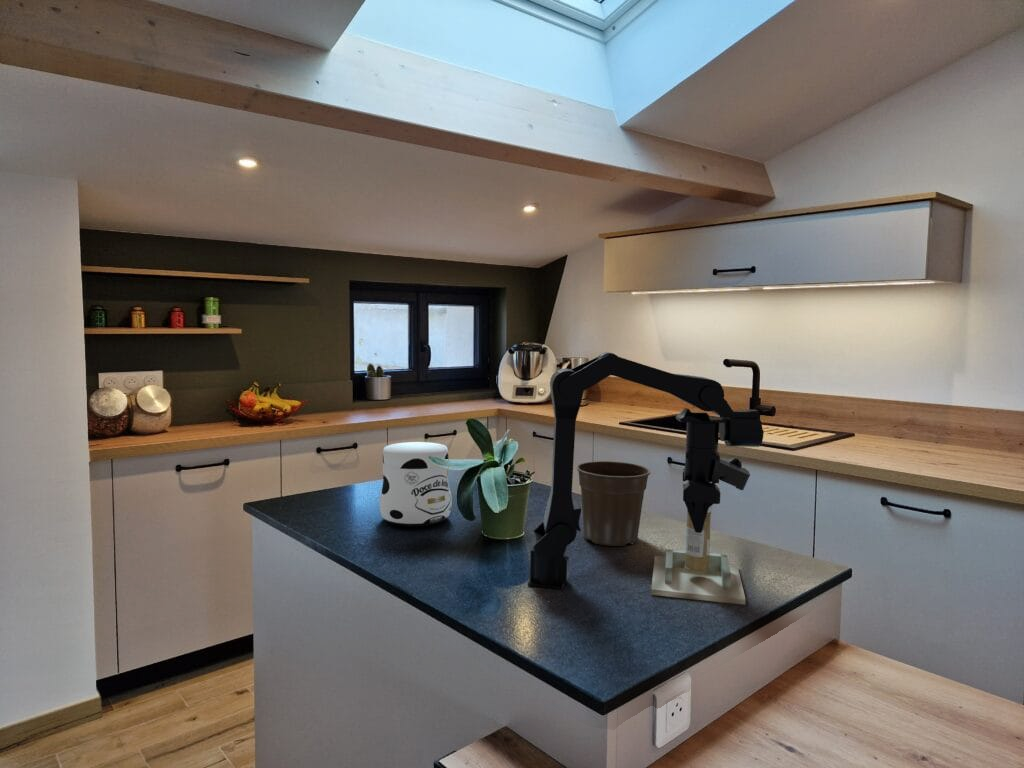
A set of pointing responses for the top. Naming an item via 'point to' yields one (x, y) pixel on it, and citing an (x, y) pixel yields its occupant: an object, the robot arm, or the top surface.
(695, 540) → the sprinkles bottle
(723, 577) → the u rest
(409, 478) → the doce de leite jar
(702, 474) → the robot arm
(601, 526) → the plant pot
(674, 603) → the top surface
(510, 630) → the top surface
